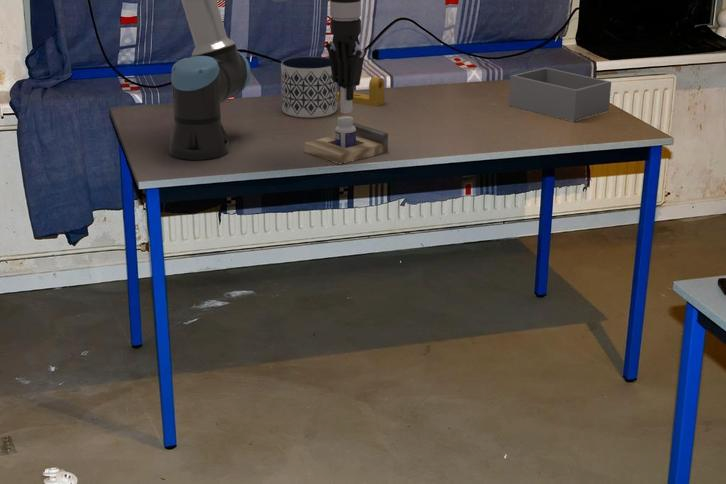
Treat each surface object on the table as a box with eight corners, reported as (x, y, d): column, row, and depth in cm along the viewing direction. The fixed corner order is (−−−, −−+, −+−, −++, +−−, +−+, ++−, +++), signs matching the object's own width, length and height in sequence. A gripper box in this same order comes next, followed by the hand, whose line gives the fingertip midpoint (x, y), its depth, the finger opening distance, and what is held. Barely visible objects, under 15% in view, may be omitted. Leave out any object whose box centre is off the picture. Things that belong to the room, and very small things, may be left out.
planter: (347, 109, 319) (347, 60, 314) (315, 121, 307) (314, 71, 302) (304, 101, 327) (303, 53, 322) (270, 113, 315) (269, 63, 310)
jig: (340, 164, 271) (340, 145, 269) (304, 152, 280) (304, 133, 278) (387, 151, 281) (387, 133, 279) (351, 140, 290) (351, 121, 288)
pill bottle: (357, 149, 283) (357, 116, 279) (353, 155, 278) (353, 121, 274) (337, 148, 283) (337, 115, 280) (333, 154, 279) (333, 120, 275)
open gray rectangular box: (573, 122, 307) (576, 90, 303) (508, 105, 323) (510, 75, 320) (608, 112, 316) (611, 81, 313) (543, 96, 333) (545, 67, 330)
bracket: (384, 103, 326) (384, 76, 322) (376, 107, 322) (376, 79, 319) (341, 97, 333) (341, 70, 330) (334, 100, 329) (333, 73, 326)
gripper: (375, 19, 265) (374, 114, 274) (340, 12, 274) (341, 104, 283) (351, 23, 261) (352, 119, 270) (316, 16, 270) (318, 109, 279)
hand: (346, 111), depth 276 cm, fingers closed
